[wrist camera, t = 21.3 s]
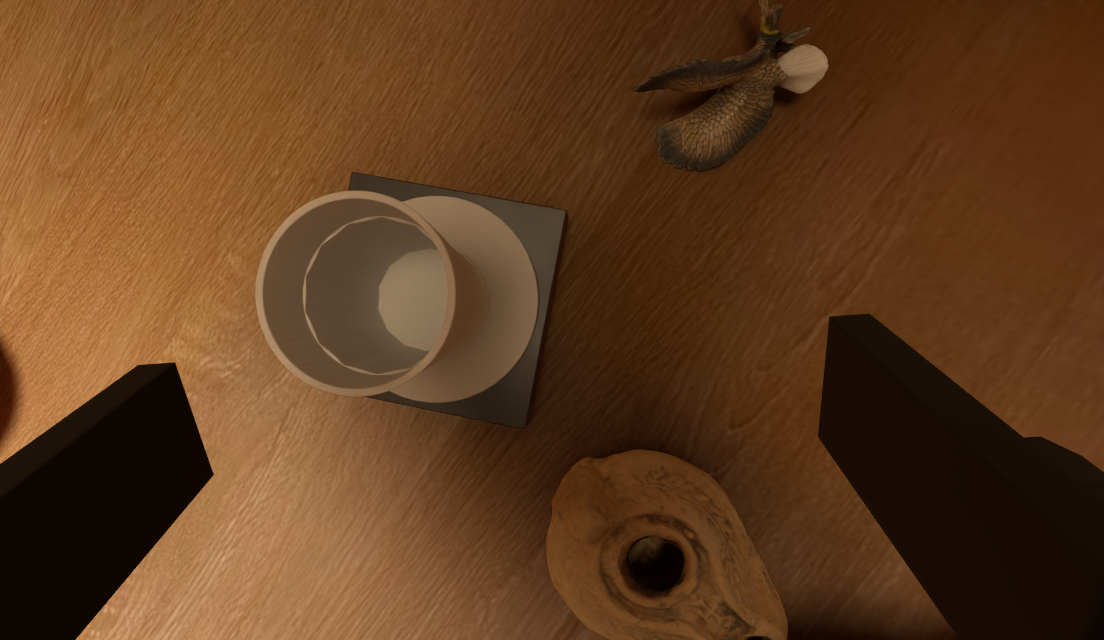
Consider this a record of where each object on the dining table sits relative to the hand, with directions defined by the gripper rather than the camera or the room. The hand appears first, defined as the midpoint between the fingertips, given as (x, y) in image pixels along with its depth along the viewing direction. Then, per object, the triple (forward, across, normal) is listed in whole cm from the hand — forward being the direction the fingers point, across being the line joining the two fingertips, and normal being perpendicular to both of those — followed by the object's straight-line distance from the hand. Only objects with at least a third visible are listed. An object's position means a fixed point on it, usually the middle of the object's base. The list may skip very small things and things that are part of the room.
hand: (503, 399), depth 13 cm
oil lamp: (+19, +6, -21) cm, 29 cm away
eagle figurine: (+29, +11, +3) cm, 31 cm away
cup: (+23, -6, -6) cm, 24 cm away
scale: (+25, -6, -7) cm, 27 cm away
